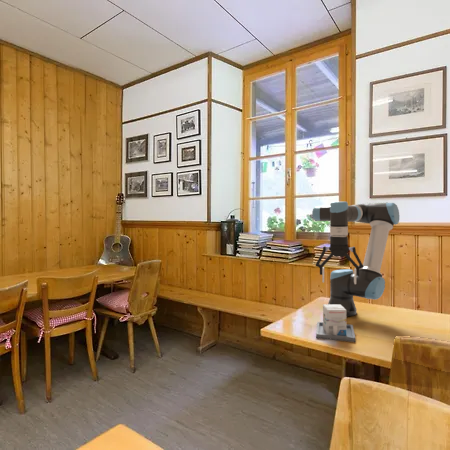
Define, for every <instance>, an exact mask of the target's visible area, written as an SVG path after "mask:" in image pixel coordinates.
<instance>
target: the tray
mask: <svg viewBox="0 0 450 450" xmlns="http://www.w3.org/2000/svg"><path fill="white" fill-rule="evenodd" d="M315 337H316V339H320V340H321V339H323V340H330V341H331V340H332V341H333V340H334V341H341V342H350V343H351V342H352V343H356V334H355V330H354V325H353V324H349V323H348V324H347V323H346V335H337V325H334V326H333V335H329V334H326V332H325V331H324V329H323V321H317V322H316V333H315Z"/></svg>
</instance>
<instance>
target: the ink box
mask: <svg viewBox="0 0 450 450" xmlns="http://www.w3.org/2000/svg"><path fill="white" fill-rule="evenodd" d="M346 312H347V310H346V309H345V308H344V307H343V306H342V305H341V304H327V303H326V304H325V303H324V304H322V322H323V329H324V331H325V332H326V334H329V335H333V326H334V325H337V335H346V324H347V316H346Z"/></svg>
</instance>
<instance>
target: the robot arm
mask: <svg viewBox="0 0 450 450" xmlns="http://www.w3.org/2000/svg"><path fill="white" fill-rule="evenodd" d="M311 214H312V219H313V220H314V221H316V222H329V224H330V225H329V235H330V237H329V242H330V243H329V244H330V245H329V246H325V245H323V247H322V251H321V253H320V255H319V257H318V259H317V261H316V263H315V267H318V268H319V275H320V276H322V279H321V280H322V283H323V284H324V283H325V267H324V266H325V265H326V264H327V263H328V262H329V261H330V260H331V259H332V257H337V258H338V257H340V258H343V257H345V258H346V259H347V260H348V261H349V262H350V264H351V265H352V266H353V267H354V268H353V269H349V268H347V269H346V268H345V269H336V270H335V269H334V270H332V271H331V272H330V277H329V282H330V284H329V286H330V287H329V288H330V297H329V300H328V302H327V303H328V304H341V305H342V306H343V307H344V308H345V309H346V310H347V312H346V317H353V316H356V315H357V306H356V303H355V301H354V297H359V298H364V299H367V300H378V299H380V298H381V297H382V296H383V294H384V291H385V288H386V285H385V284H386V281H385V278H384V277H383V274H382V273H381V269H382V264H383V260H384V256H385V251H386V246H387V242H388V237H389V233H390V231H391V230H393V228H394V226H396V225H398V224H399V222H400V210H399V207H398V205H397V204H396V203H395V202H365V203H360V204H358V203H357V204H352V205H351V204H350V205H349V203H348V201H331V202H330V205H317V206H314V207H313V209H312V213H311ZM351 222H352V223H353V222H354V223H355V222H356V223H363V224H369V225H370V227H371V229H370V233H369V238H368V243H367V246H366V251H365V254H364V259H363V262H362V260H361V259H360V256H359V255H358V254H357V249H356V247H355V246H351V247H349V237H348V235H349V223H351ZM328 250H329V251H330V253H329V255H328V256H327V257H326V258H325V259H324V260H323V261H322V259H323V258H324V255H325V253H326V252H328ZM349 251H350V252H351V253H353V255H354V257H355V260H356V262H357V263H358V264H357V263H356V262H355V261H354V260H353V259H352V257H351V256H350V255H349V254H348V252H349ZM321 261H322V262H321Z"/></svg>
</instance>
